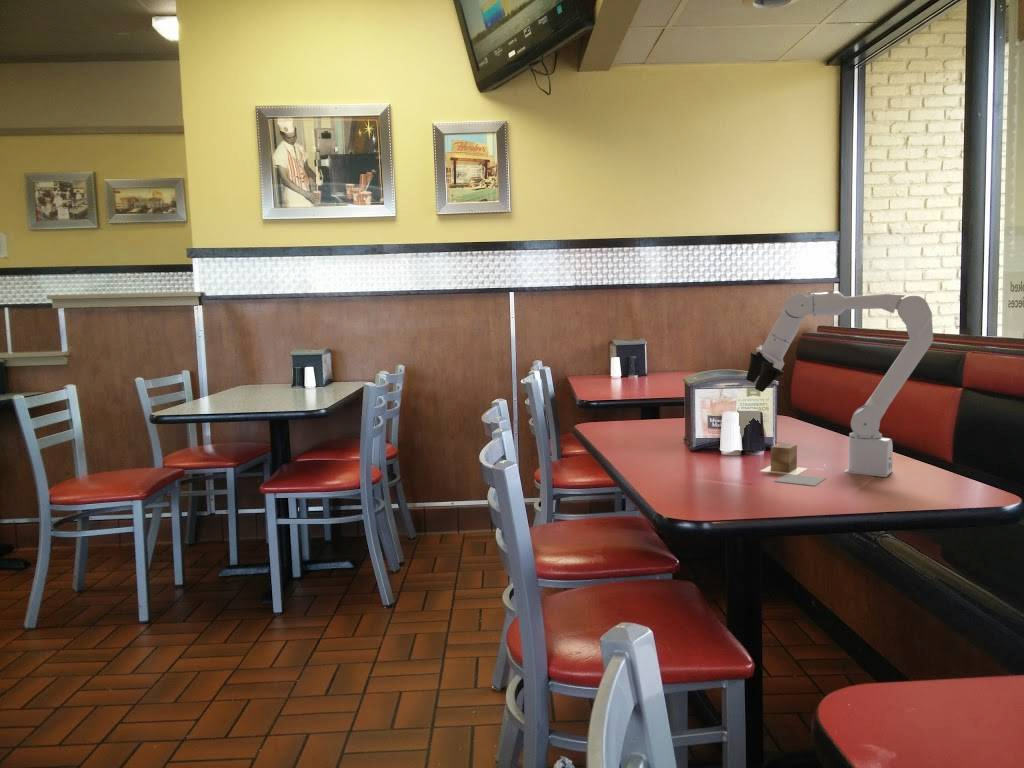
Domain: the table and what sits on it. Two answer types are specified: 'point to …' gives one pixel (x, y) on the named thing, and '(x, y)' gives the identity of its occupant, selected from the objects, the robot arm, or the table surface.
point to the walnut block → (784, 457)
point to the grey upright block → (747, 417)
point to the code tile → (794, 472)
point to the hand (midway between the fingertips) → (754, 385)
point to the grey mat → (800, 480)
